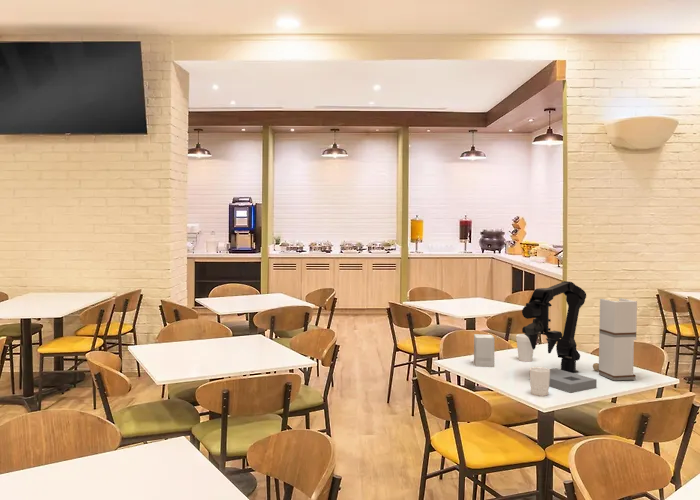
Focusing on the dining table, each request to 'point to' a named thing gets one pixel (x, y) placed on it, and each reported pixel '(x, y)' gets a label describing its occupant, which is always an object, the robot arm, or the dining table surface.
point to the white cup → (539, 381)
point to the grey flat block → (570, 381)
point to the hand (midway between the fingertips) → (541, 351)
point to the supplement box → (483, 350)
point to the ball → (596, 366)
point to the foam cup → (524, 348)
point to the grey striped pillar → (617, 338)
